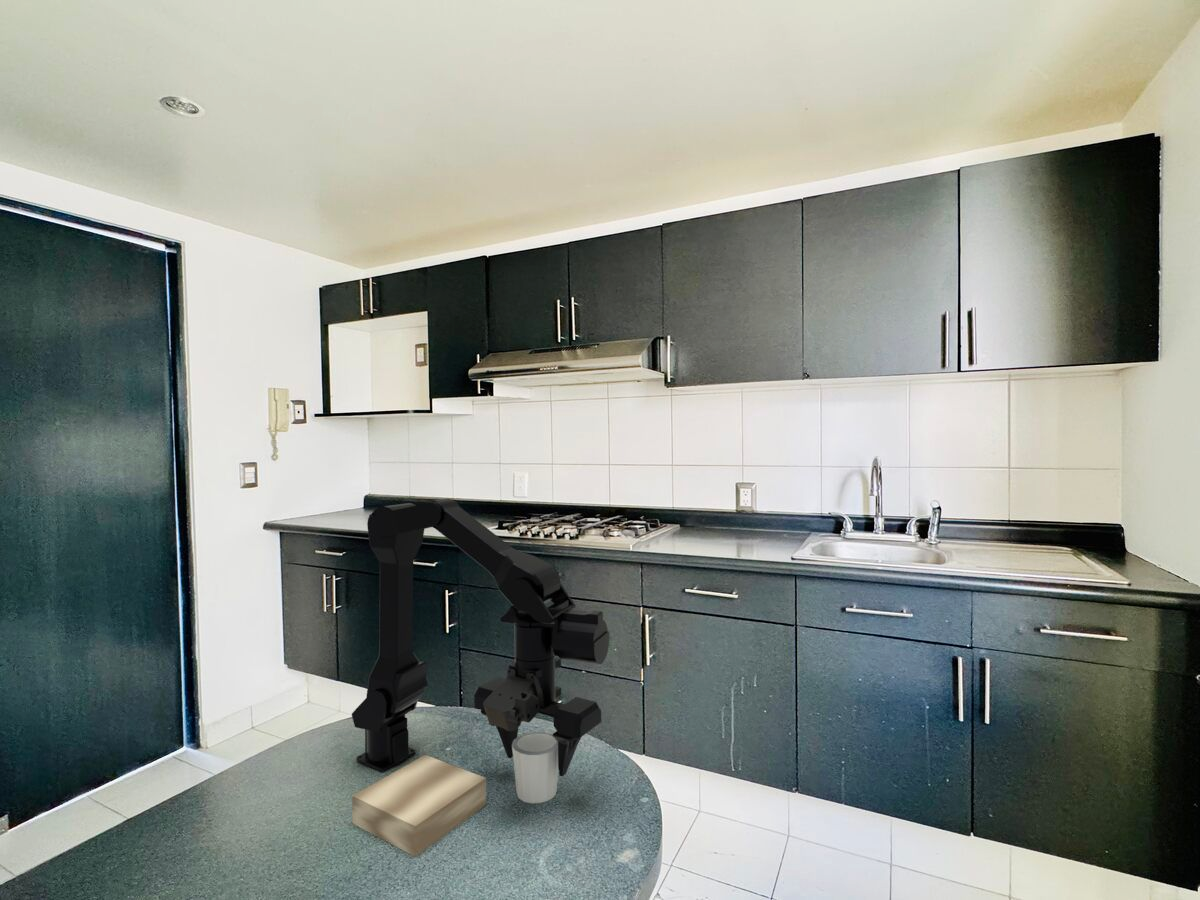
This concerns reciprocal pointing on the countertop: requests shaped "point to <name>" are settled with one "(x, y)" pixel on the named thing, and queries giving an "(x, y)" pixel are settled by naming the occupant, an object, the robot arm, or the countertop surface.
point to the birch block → (419, 803)
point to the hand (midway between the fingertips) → (536, 765)
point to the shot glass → (535, 766)
